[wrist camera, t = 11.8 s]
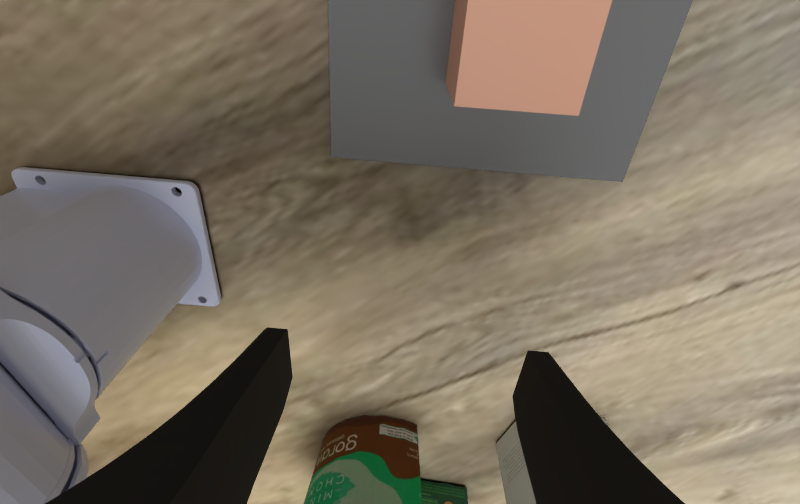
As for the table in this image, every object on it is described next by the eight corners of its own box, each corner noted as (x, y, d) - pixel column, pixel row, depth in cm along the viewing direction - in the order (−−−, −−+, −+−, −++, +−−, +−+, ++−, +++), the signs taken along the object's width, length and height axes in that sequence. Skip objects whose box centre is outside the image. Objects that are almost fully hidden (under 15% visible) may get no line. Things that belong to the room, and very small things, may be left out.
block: (445, 83, 17) (454, 106, 13) (458, -31, 15) (474, -50, 10) (538, 90, 17) (578, 115, 13) (564, -23, 15) (623, -39, 10)
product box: (492, 442, 31) (511, 551, 24) (534, 394, 28) (567, 505, 21) (560, 461, 32) (595, 572, 25) (608, 417, 29) (660, 530, 22)
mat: (333, 153, 19) (331, 157, 19) (327, -201, 13) (324, -209, 13) (617, 177, 19) (622, 181, 19) (745, -166, 13) (759, -173, 13)
